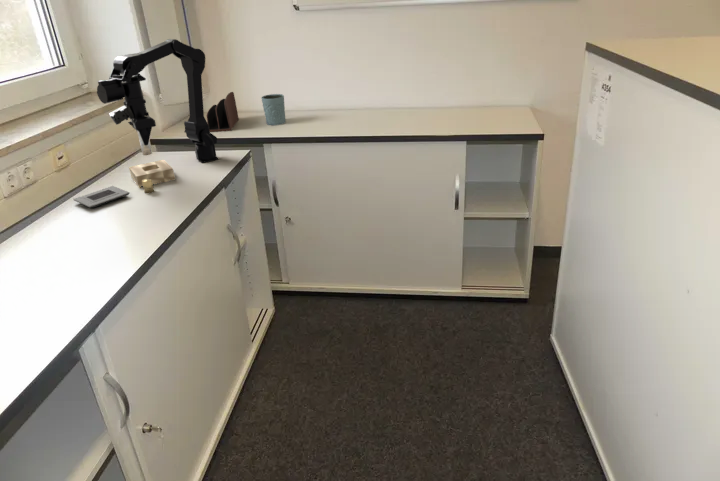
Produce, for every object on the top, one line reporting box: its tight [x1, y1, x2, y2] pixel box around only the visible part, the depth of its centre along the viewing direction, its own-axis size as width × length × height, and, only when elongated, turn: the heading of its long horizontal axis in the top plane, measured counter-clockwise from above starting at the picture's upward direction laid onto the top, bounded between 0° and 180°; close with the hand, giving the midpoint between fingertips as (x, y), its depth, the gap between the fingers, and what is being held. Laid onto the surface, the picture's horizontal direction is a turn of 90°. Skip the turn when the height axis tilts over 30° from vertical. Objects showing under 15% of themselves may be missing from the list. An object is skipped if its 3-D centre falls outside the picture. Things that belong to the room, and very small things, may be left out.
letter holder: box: [206, 91, 239, 133], centre depth 243 cm, size 10×20×14 cm, turn 2°
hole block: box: [128, 159, 176, 188], centre depth 186 cm, size 12×12×4 cm
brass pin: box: [142, 179, 155, 194], centre depth 175 cm, size 3×3×4 cm
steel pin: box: [136, 130, 153, 156], centre depth 180 cm, size 3×3×10 cm
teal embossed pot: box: [260, 93, 286, 126], centre depth 243 cm, size 10×10×12 cm
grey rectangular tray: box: [73, 185, 130, 209], centre depth 171 cm, size 13×10×2 cm
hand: (145, 143), depth 181 cm, fingers closed on steel pin, 3 cm apart
